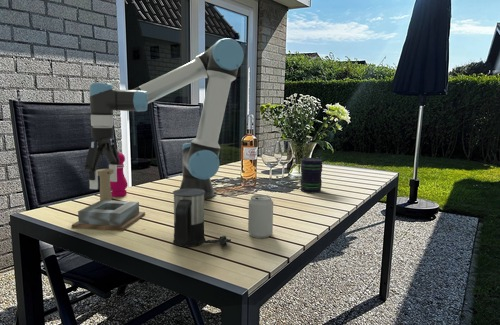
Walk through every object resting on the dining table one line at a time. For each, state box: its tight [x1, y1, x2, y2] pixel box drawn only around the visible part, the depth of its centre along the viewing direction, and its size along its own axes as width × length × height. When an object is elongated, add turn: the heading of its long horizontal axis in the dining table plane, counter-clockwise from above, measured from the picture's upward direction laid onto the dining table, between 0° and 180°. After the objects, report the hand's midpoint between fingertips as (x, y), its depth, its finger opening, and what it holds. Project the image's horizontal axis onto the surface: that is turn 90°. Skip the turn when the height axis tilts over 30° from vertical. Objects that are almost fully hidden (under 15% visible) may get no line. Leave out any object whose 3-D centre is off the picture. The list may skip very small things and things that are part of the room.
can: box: [247, 194, 274, 239], centre depth 110 cm, size 8×8×12 cm
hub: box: [71, 200, 146, 232], centre depth 121 cm, size 17×17×5 cm
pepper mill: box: [110, 148, 128, 198], centre depth 155 cm, size 7×7×20 cm
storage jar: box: [299, 157, 323, 194], centre depth 169 cm, size 10×10×15 cm
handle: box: [96, 168, 114, 201], centre depth 133 cm, size 5×6×15 cm
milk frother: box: [172, 188, 232, 248], centre depth 102 cm, size 14×16×15 cm
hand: (104, 185), depth 133 cm, fingers open, 13 cm apart
